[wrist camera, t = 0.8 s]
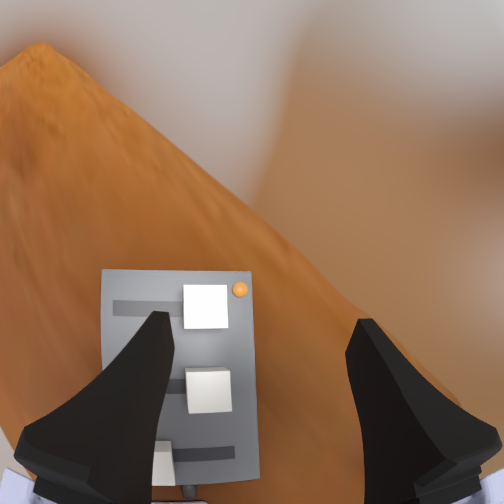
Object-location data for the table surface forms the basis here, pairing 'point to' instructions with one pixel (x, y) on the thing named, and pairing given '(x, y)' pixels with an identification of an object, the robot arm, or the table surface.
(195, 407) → the switch middle
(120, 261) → the table surface
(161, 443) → the switch
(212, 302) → the switch
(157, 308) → the switch panel
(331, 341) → the table surface
